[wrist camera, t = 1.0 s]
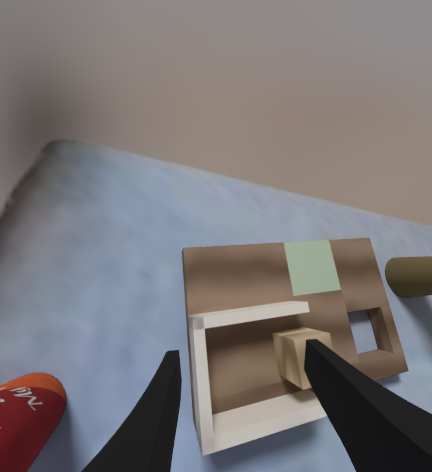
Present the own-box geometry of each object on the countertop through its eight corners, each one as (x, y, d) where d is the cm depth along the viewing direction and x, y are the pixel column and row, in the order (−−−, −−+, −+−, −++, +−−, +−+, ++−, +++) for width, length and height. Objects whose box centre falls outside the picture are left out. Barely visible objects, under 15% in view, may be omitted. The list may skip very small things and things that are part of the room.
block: (311, 366, 23) (340, 379, 19) (278, 373, 22) (302, 389, 18) (303, 327, 24) (329, 333, 20) (272, 332, 23) (293, 340, 19)
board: (391, 365, 28) (408, 370, 26) (193, 420, 21) (196, 432, 19) (357, 241, 32) (369, 237, 30) (181, 251, 25) (183, 248, 23)
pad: (329, 290, 29) (341, 289, 27) (284, 296, 27) (293, 296, 25) (318, 243, 30) (329, 240, 28) (275, 246, 28) (283, 242, 26)
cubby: (309, 399, 22) (330, 414, 19) (196, 432, 19) (202, 456, 16) (290, 300, 25) (307, 301, 22) (188, 315, 21) (192, 318, 19)
